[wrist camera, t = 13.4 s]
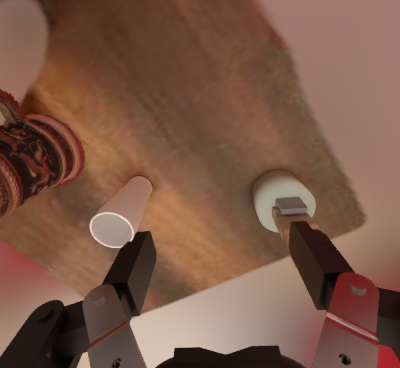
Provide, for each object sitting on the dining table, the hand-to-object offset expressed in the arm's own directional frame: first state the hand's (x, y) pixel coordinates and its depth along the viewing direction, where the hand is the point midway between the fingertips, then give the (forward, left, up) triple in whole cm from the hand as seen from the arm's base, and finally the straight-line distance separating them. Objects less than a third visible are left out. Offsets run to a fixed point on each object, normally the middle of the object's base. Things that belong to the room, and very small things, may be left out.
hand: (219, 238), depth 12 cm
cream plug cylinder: (+14, +12, -30) cm, 35 cm away
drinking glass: (+10, -16, -30) cm, 36 cm away
